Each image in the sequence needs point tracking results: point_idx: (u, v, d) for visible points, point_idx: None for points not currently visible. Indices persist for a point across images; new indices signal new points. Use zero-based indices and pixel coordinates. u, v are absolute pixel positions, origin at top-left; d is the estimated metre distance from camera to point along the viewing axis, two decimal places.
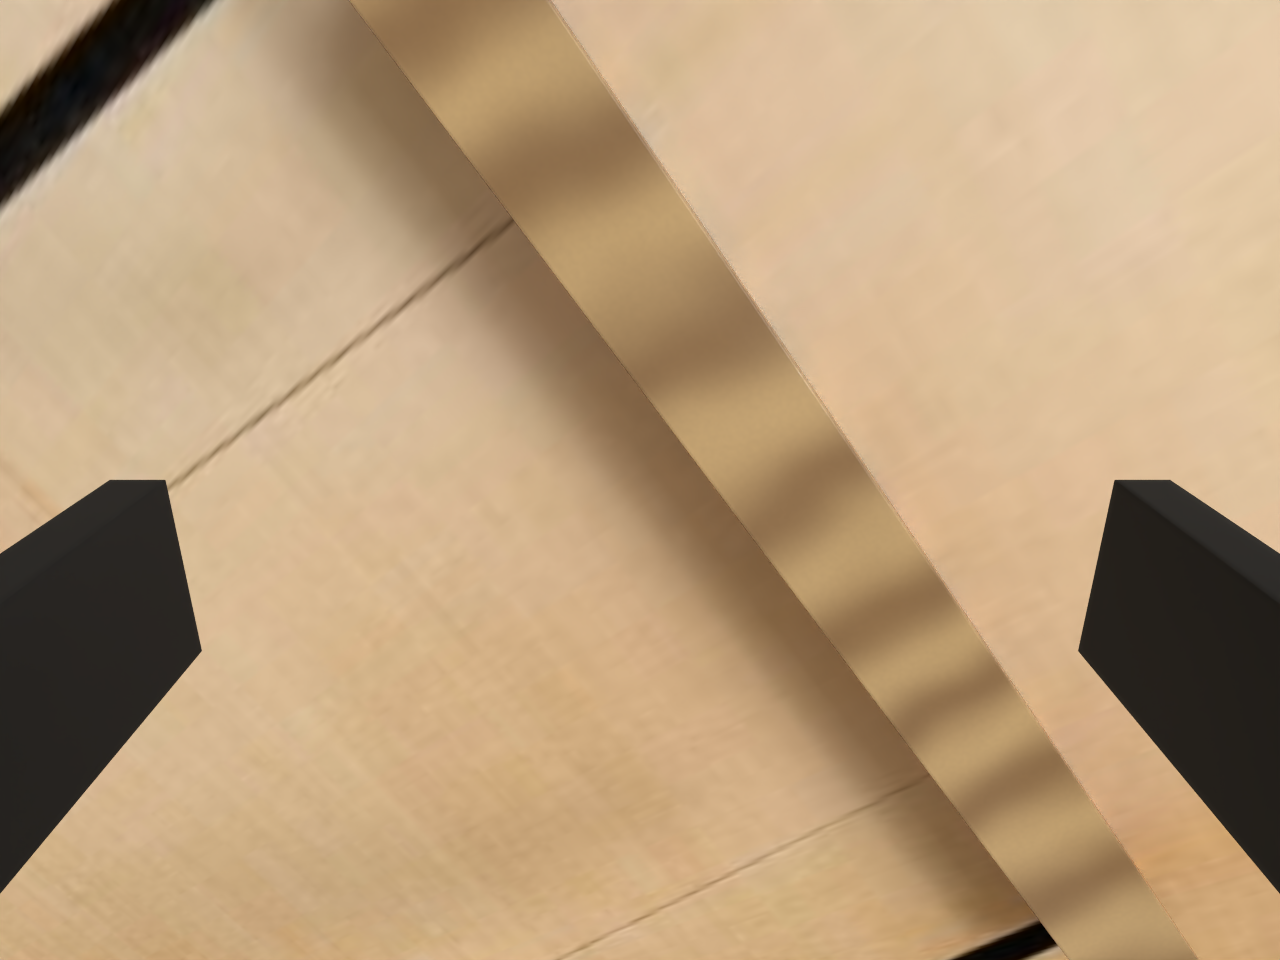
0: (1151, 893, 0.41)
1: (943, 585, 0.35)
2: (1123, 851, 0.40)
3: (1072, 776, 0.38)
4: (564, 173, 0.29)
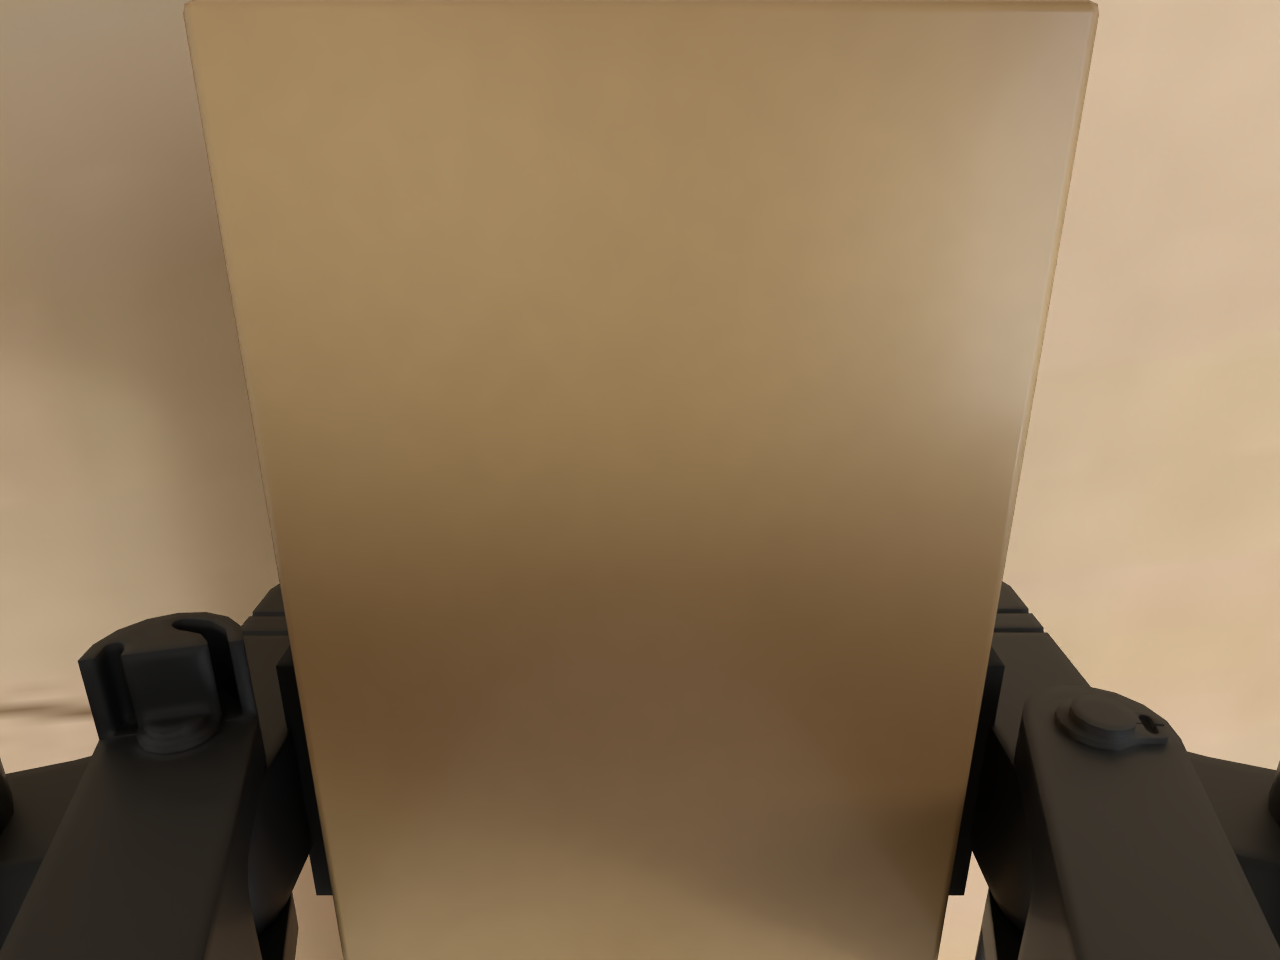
0: None
1: None
2: None
3: None
4: None
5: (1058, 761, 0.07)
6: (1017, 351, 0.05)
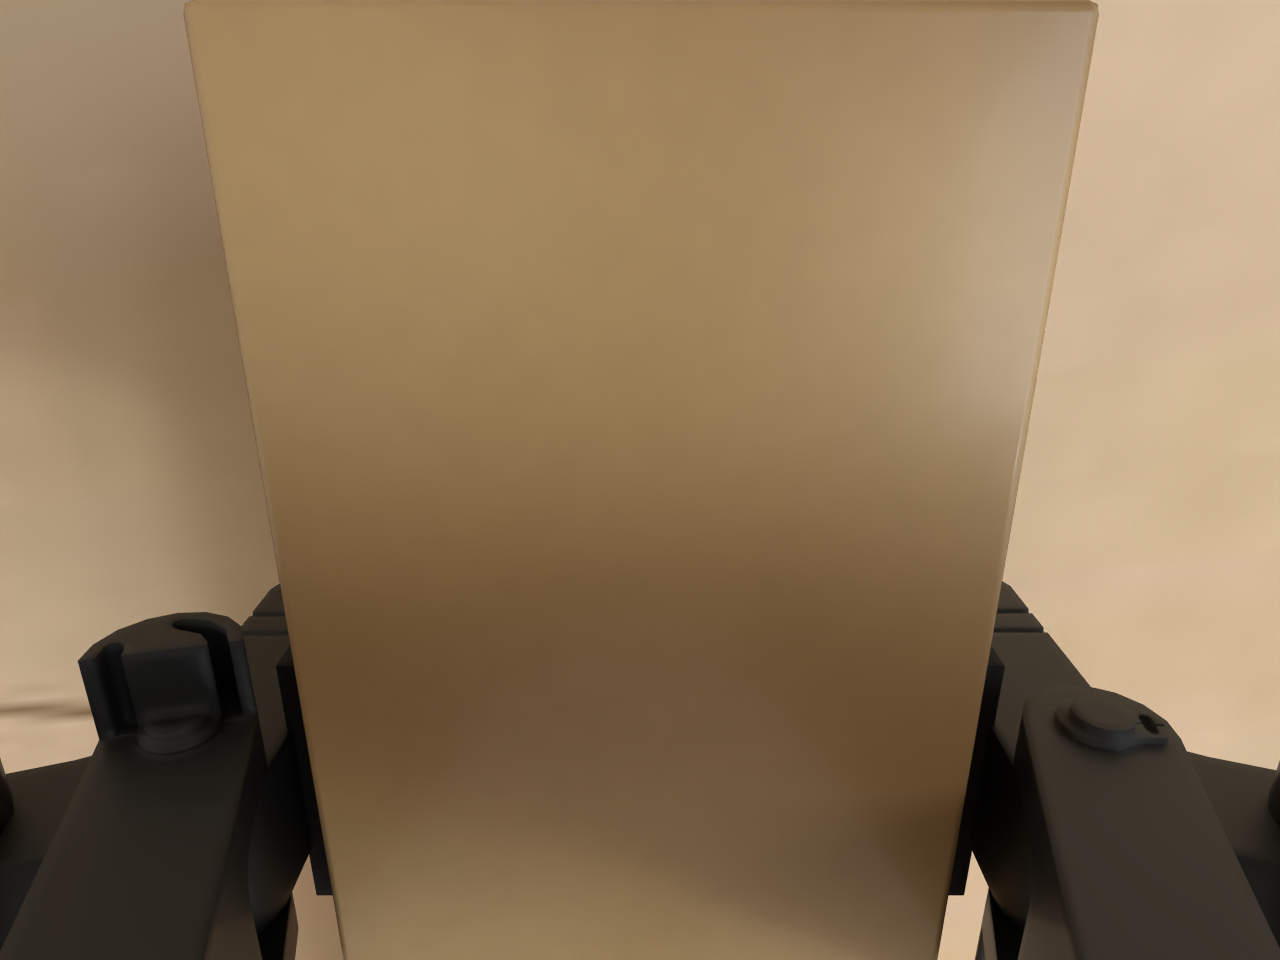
0: None
1: None
2: None
3: None
4: None
5: (1058, 761, 0.07)
6: (1017, 349, 0.05)
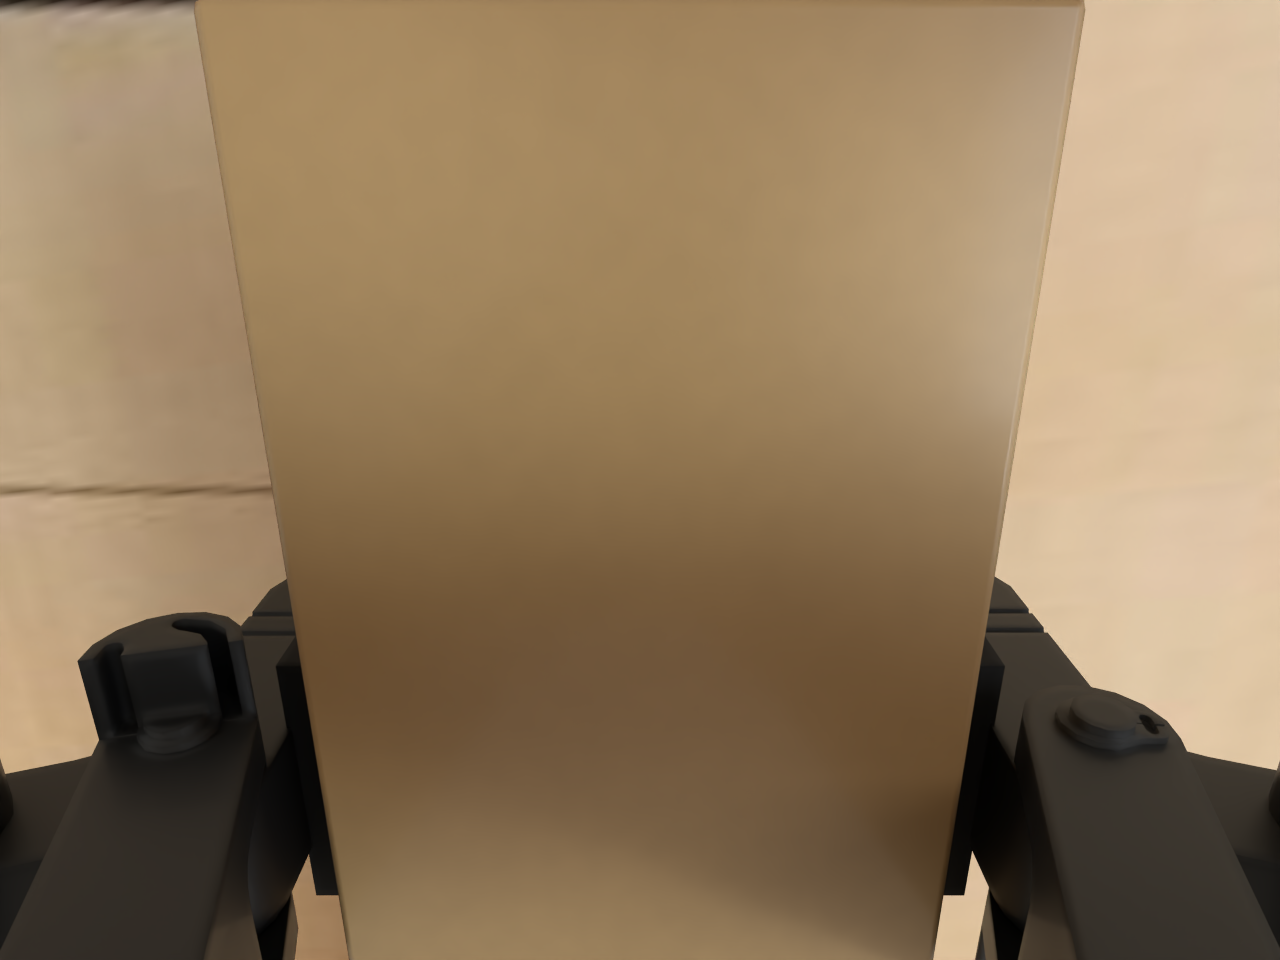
0: None
1: None
2: None
3: None
4: None
5: (1058, 761, 0.07)
6: (1008, 340, 0.06)
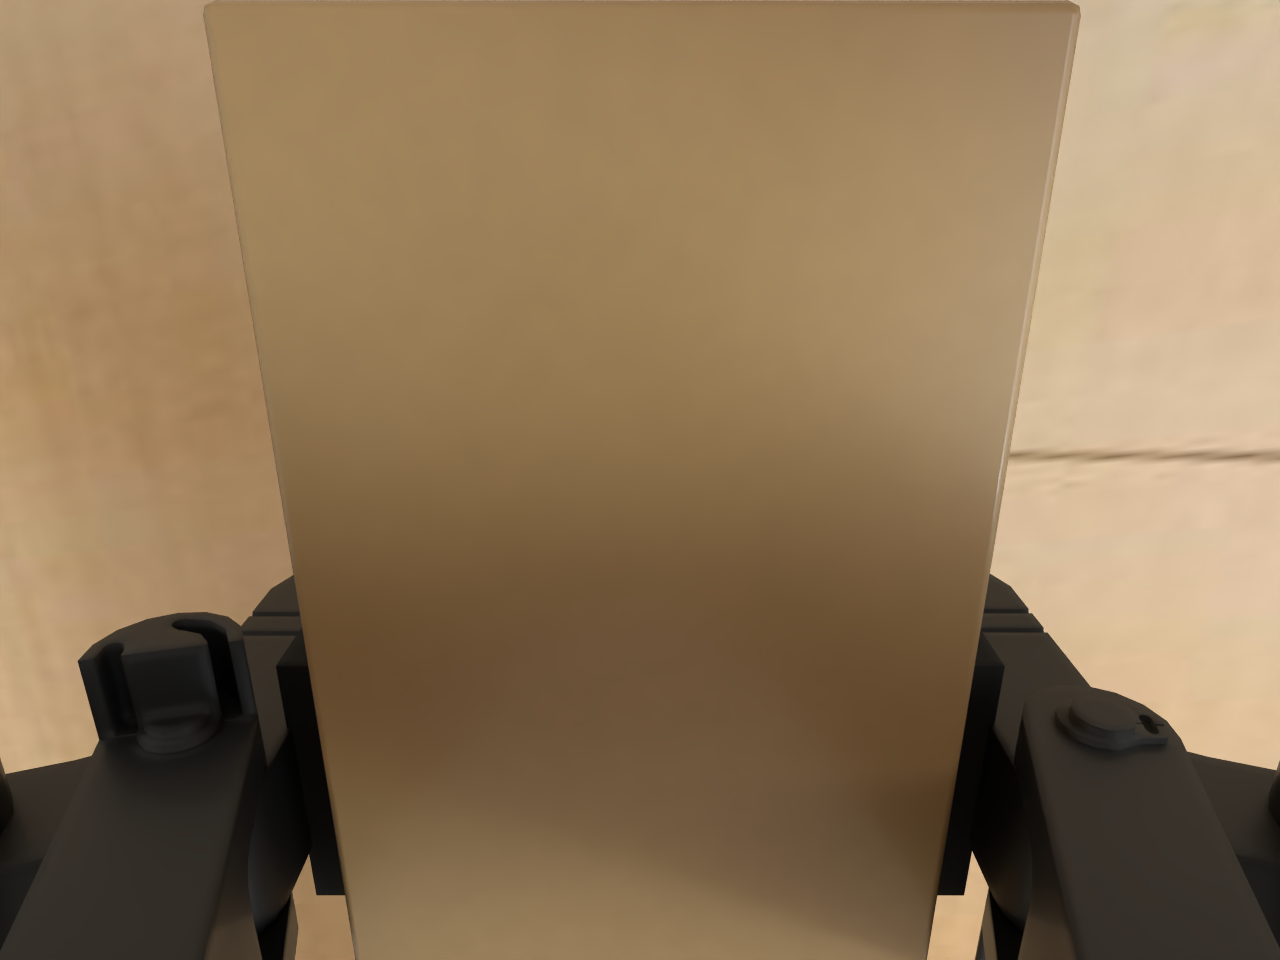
0: None
1: None
2: None
3: None
4: None
5: (1058, 760, 0.07)
6: (1004, 339, 0.06)
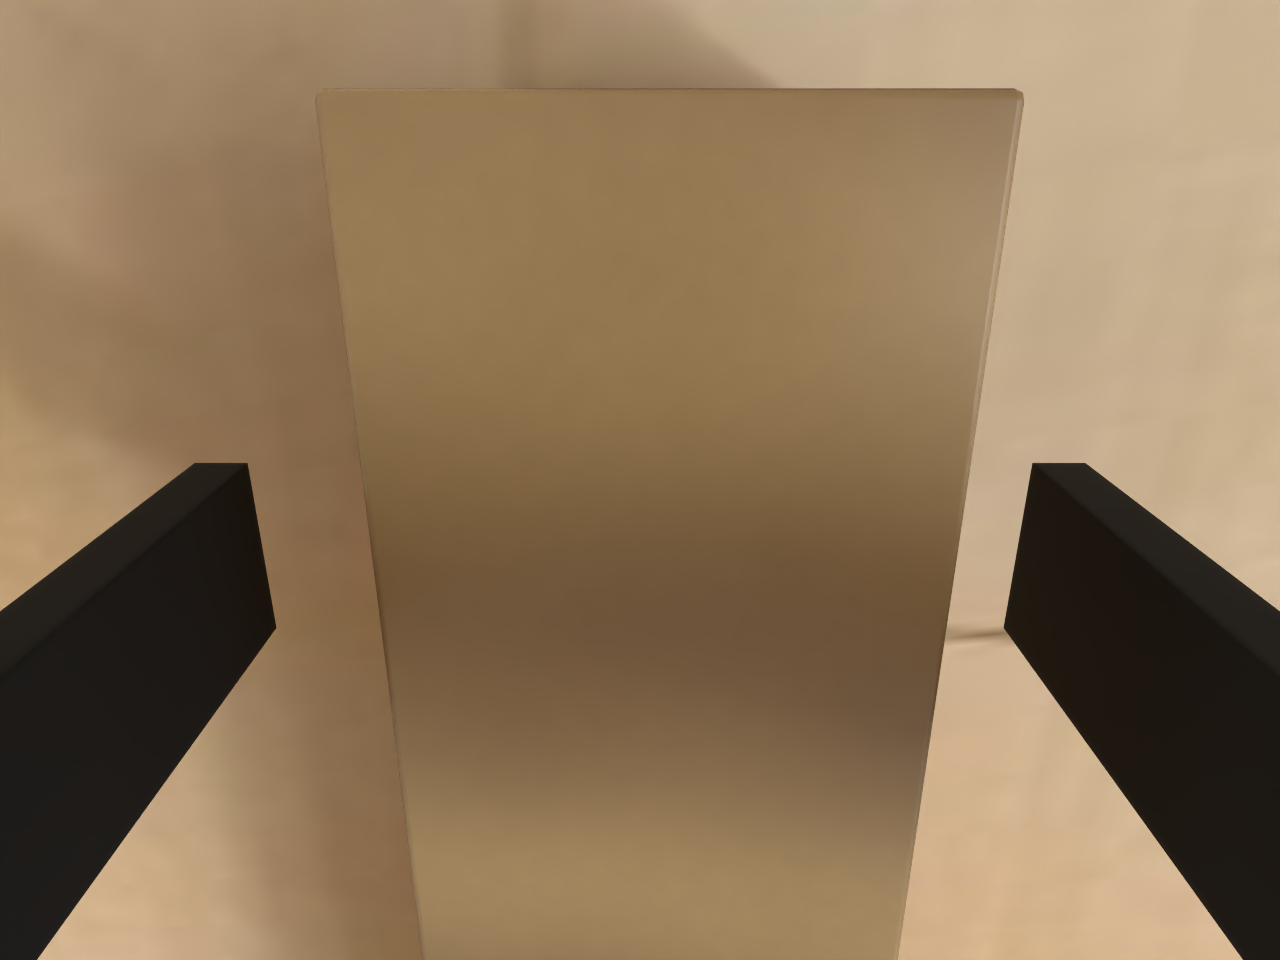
0: None
1: None
2: None
3: None
4: None
5: None
6: (966, 361, 0.07)
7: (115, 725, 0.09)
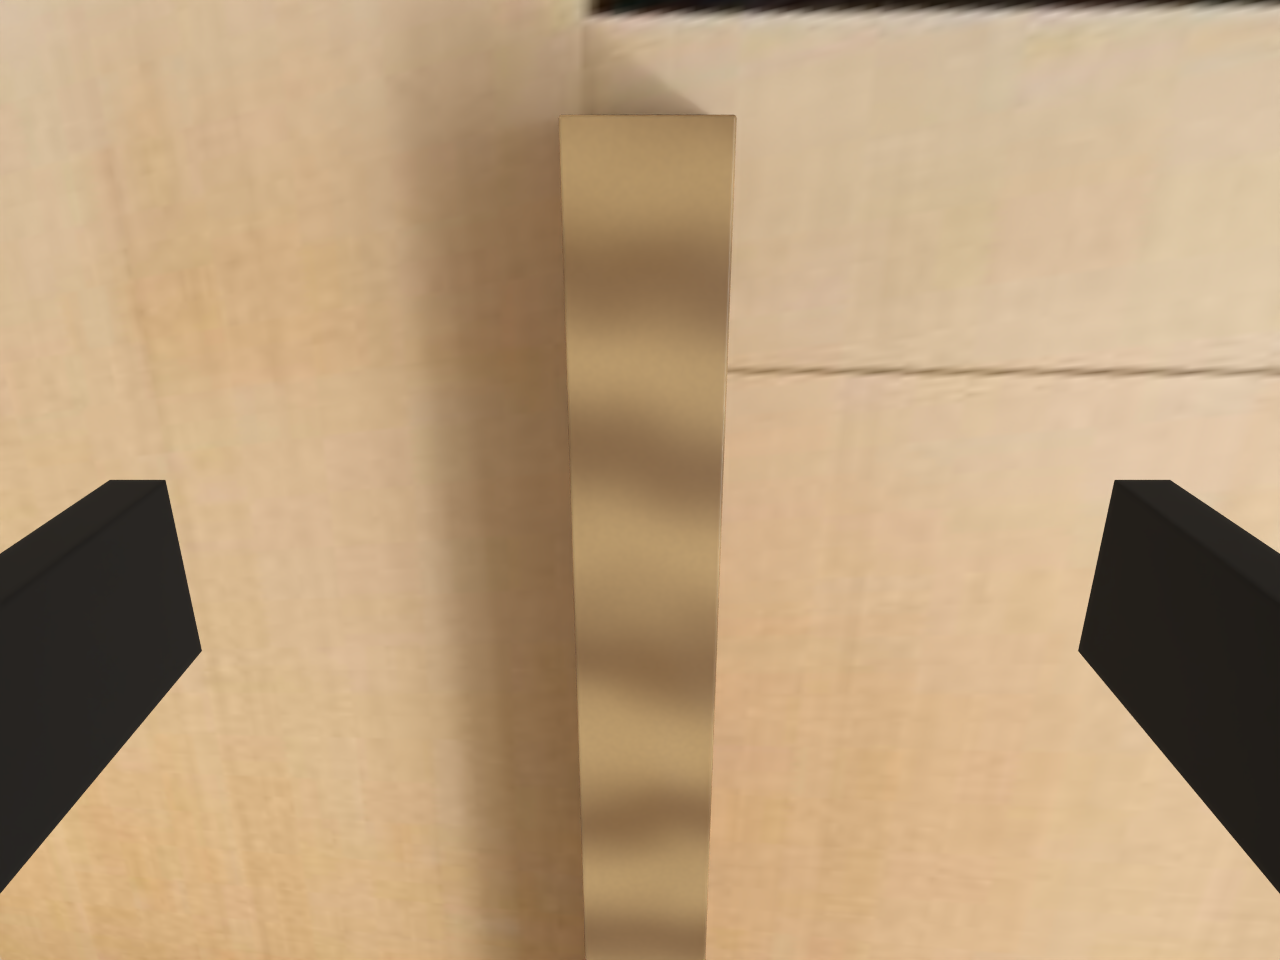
0: None
1: (704, 941, 0.37)
2: None
3: None
4: (640, 469, 0.29)
5: None
6: (727, 187, 0.26)
7: None
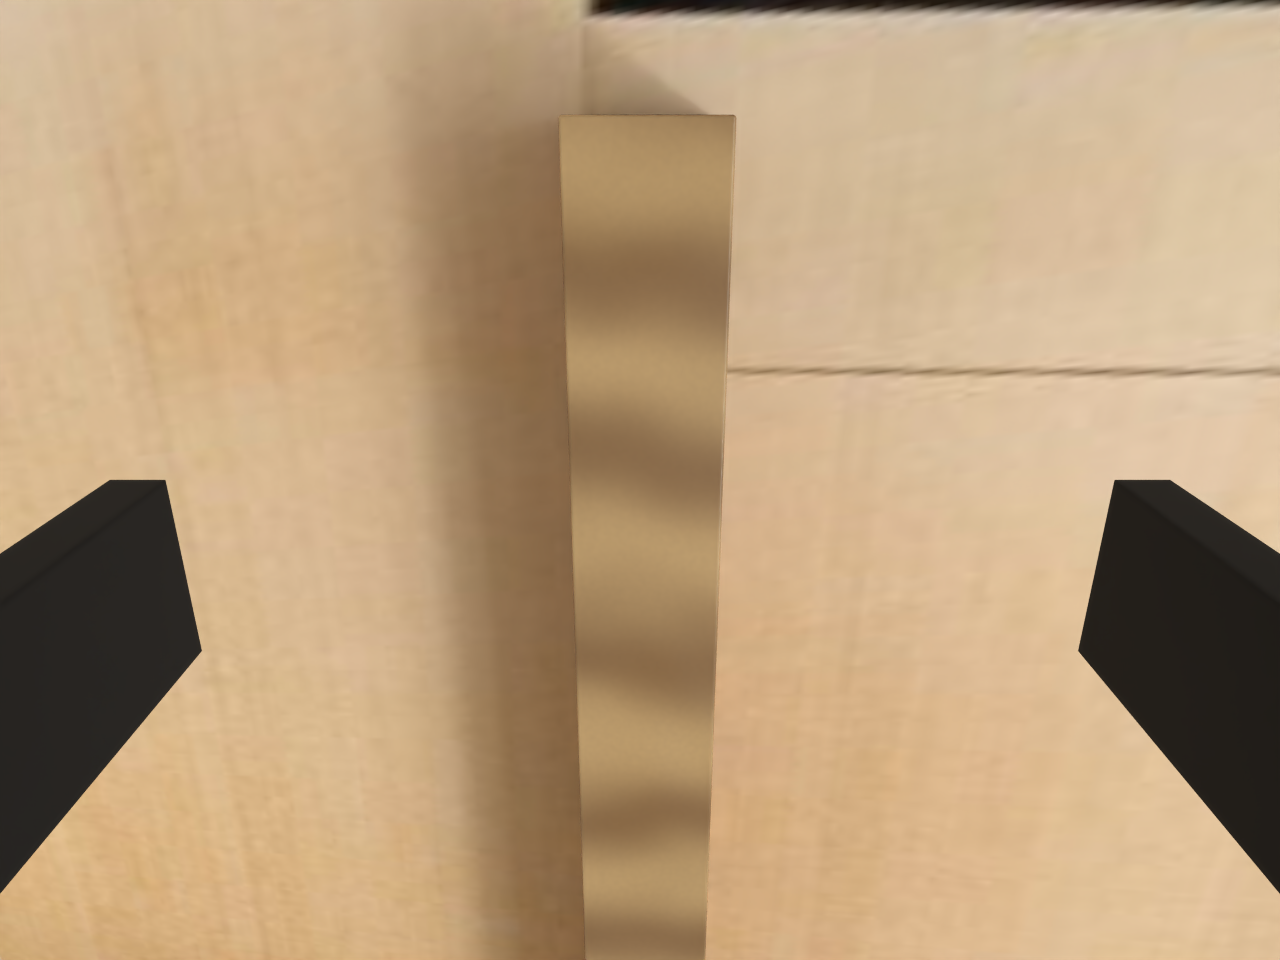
0: None
1: (704, 941, 0.37)
2: None
3: None
4: (640, 469, 0.29)
5: None
6: (727, 187, 0.26)
7: None
